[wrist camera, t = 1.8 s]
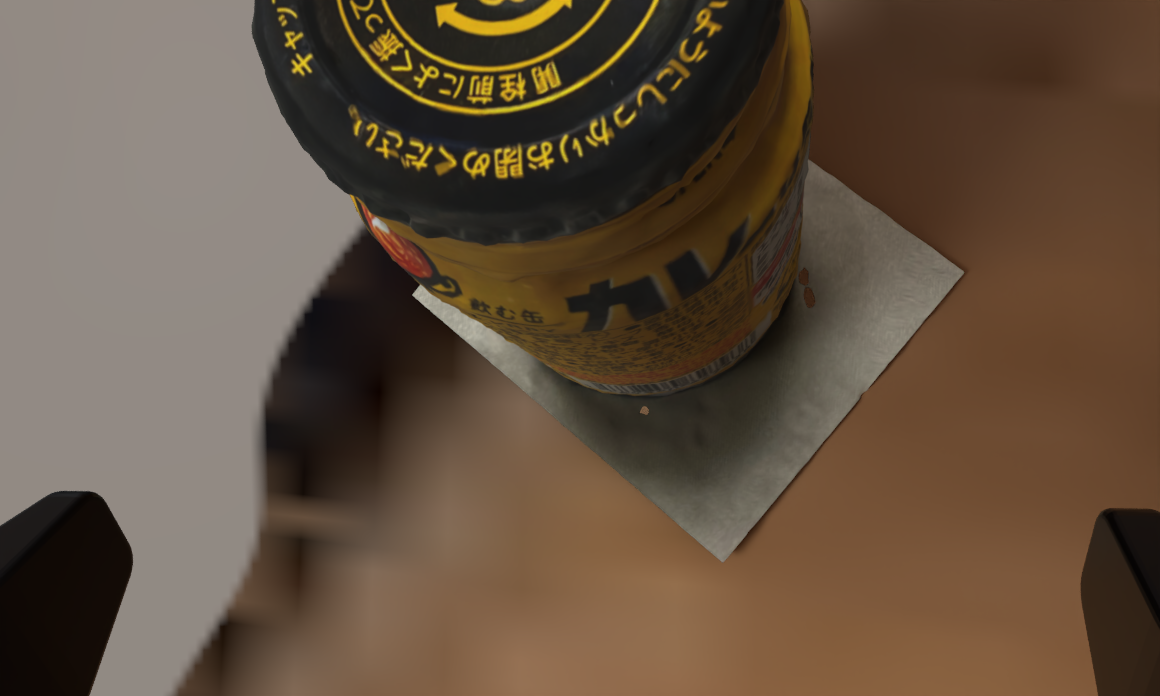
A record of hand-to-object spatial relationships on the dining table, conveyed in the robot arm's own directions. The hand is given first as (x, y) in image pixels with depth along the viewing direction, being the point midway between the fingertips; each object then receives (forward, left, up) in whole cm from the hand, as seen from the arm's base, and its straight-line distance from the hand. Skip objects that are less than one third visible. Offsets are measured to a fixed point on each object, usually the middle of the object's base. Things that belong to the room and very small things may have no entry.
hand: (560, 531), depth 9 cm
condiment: (+5, 0, -11) cm, 12 cm away
